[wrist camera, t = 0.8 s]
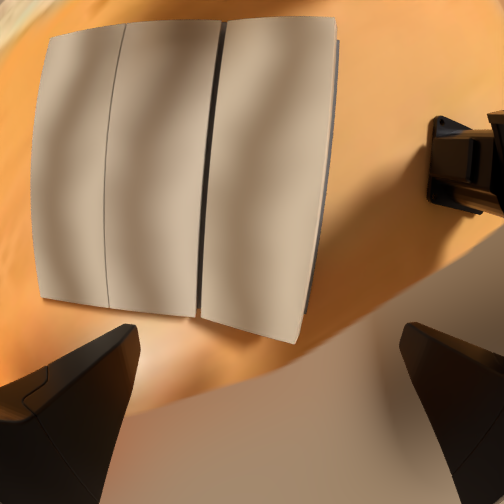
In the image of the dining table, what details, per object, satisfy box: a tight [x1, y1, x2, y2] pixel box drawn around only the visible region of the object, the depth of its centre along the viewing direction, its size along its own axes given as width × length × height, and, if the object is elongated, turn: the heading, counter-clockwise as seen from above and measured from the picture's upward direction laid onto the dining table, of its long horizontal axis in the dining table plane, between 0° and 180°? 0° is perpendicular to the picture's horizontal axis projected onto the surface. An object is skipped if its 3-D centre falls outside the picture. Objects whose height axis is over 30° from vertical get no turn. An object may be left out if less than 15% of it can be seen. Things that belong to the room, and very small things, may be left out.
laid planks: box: [31, 20, 222, 317], centre depth 16 cm, size 12×18×1 cm, turn 174°
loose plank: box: [201, 16, 337, 344], centre depth 15 cm, size 6×18×1 cm, turn 174°
